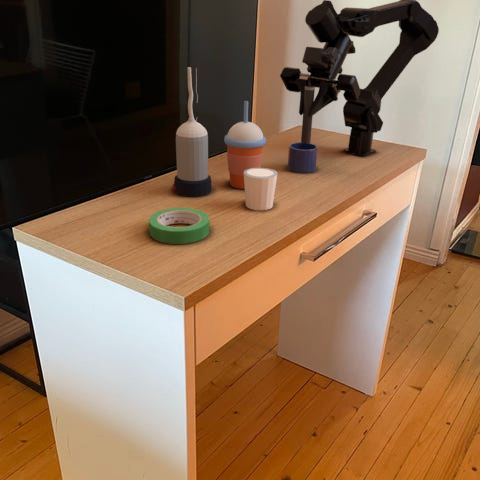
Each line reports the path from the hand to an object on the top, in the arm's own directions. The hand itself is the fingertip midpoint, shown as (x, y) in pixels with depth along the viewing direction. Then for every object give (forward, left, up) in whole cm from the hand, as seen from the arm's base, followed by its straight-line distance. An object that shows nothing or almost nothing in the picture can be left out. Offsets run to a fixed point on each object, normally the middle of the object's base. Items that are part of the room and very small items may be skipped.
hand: (304, 114), depth 132 cm
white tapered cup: (+24, +8, -13) cm, 29 cm away
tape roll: (+45, +7, -13) cm, 47 cm away
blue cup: (-2, -1, -13) cm, 14 cm away
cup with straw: (+17, -3, -13) cm, 22 cm away
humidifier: (+28, -8, -13) cm, 32 cm away
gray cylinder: (-1, 0, -7) cm, 7 cm away
